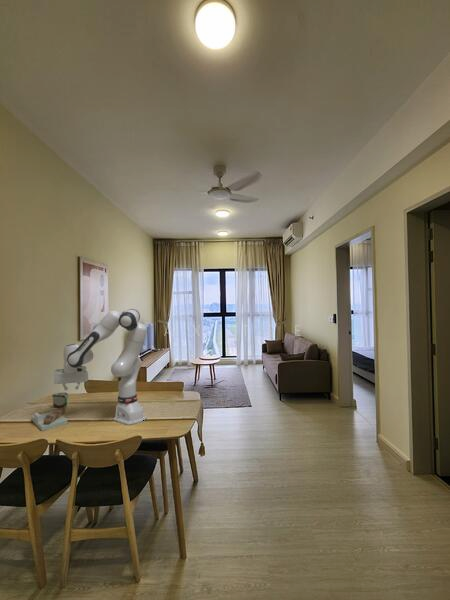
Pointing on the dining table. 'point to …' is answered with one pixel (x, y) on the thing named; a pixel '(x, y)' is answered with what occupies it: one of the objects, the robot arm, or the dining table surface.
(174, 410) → the dining table surface
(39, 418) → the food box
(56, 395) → the food container
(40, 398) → the dining table surface
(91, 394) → the dining table surface
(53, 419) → the brown long bar
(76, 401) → the dining table surface
